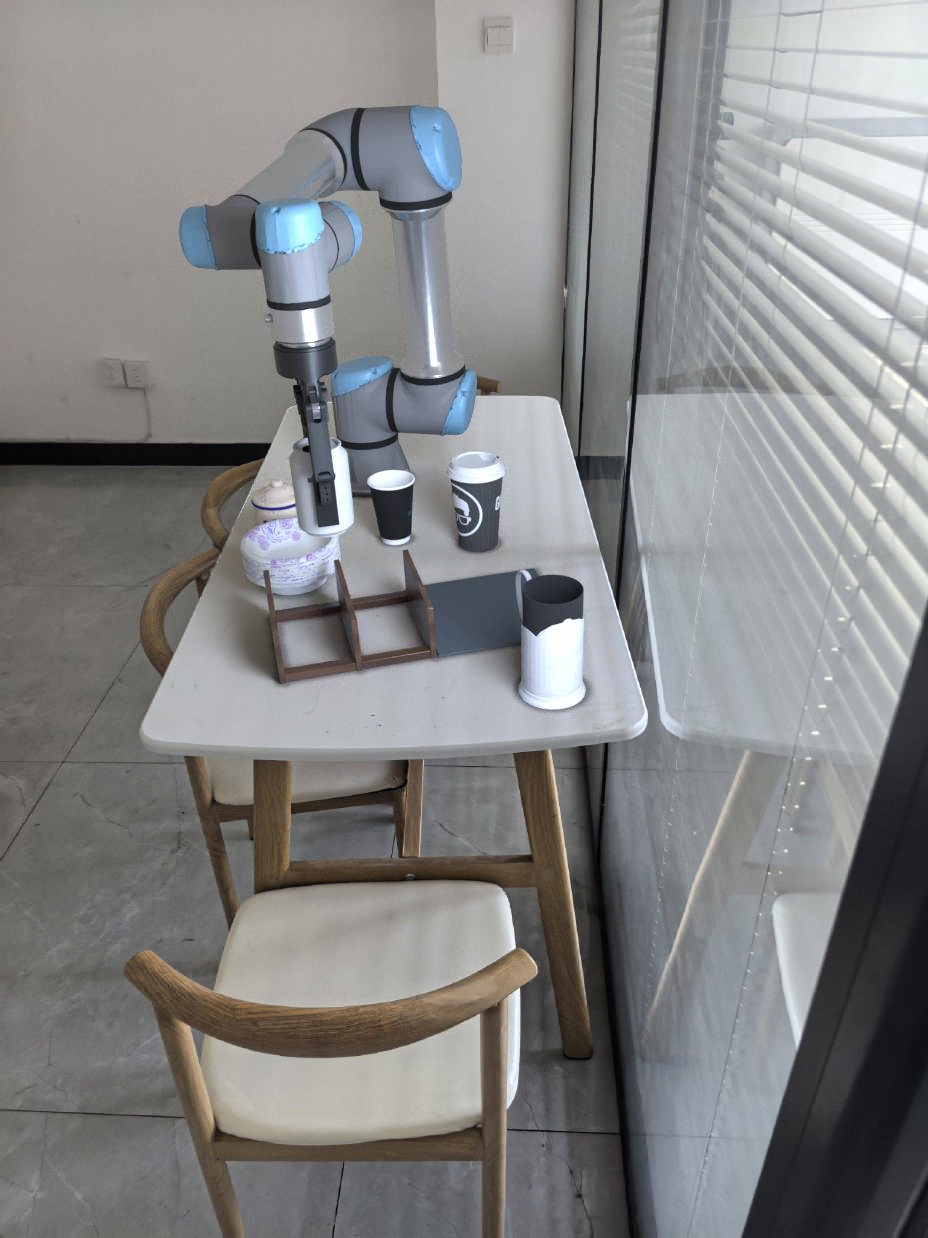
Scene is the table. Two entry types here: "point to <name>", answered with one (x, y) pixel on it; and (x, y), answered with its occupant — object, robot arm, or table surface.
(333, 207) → the robot arm
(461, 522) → the coffee cup
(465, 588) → the mat
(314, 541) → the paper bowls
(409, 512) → the dixie cup
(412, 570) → the rack
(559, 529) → the table surface
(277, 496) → the teacup with lid
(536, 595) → the glass holder
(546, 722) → the table surface
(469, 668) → the table surface
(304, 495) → the can
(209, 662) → the table surface
